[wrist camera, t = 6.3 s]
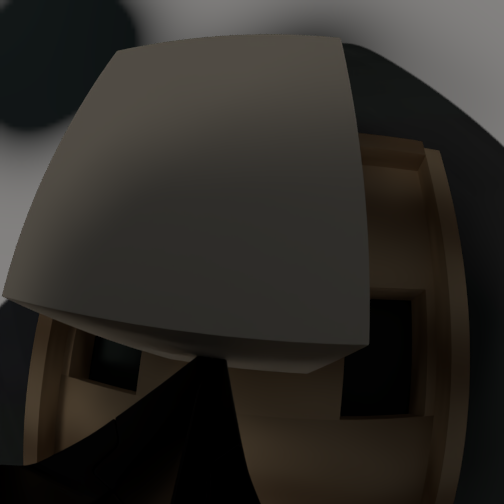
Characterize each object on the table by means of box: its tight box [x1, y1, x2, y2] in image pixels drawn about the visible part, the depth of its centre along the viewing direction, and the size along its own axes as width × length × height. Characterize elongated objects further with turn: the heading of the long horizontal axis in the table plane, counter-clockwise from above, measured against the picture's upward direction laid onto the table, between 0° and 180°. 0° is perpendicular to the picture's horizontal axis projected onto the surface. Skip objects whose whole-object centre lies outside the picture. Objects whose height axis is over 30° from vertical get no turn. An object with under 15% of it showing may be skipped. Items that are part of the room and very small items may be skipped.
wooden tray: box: [24, 133, 470, 504], centre depth 14 cm, size 24×20×4 cm
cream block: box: [2, 34, 370, 374], centre depth 10 cm, size 7×6×10 cm
